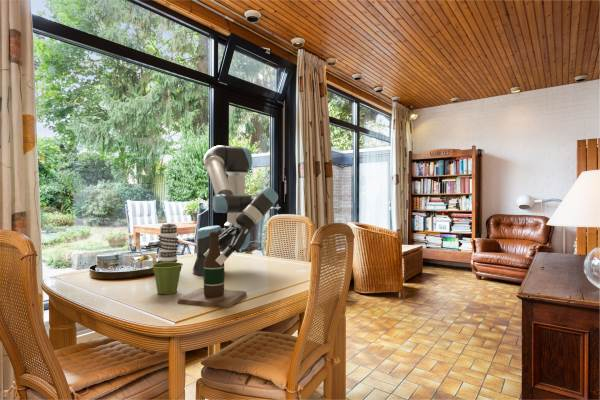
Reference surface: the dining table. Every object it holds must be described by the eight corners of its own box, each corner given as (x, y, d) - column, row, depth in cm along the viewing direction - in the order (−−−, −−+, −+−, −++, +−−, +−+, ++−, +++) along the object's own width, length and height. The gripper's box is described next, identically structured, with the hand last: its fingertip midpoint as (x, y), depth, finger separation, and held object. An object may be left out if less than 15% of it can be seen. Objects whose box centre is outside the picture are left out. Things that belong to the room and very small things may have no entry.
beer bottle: (221, 298, 125) (222, 233, 125) (200, 297, 125) (201, 232, 125) (226, 292, 133) (226, 230, 133) (206, 291, 133) (207, 230, 133)
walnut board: (177, 303, 124) (177, 299, 124) (200, 291, 139) (200, 287, 139) (228, 308, 119) (228, 303, 119) (246, 295, 134) (246, 291, 134)
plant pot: (189, 291, 139) (189, 263, 139) (164, 298, 129) (164, 268, 129) (169, 287, 145) (170, 260, 145) (144, 293, 135) (145, 265, 135)
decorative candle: (157, 272, 171) (158, 223, 171) (177, 271, 175) (177, 222, 175) (158, 276, 163) (159, 224, 162) (179, 275, 167) (179, 224, 166)
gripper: (269, 227, 127) (231, 272, 119) (242, 222, 148) (208, 260, 140) (256, 213, 124) (216, 258, 116) (230, 211, 145) (195, 248, 137)
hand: (211, 260), depth 128 cm, fingers open, 13 cm apart
